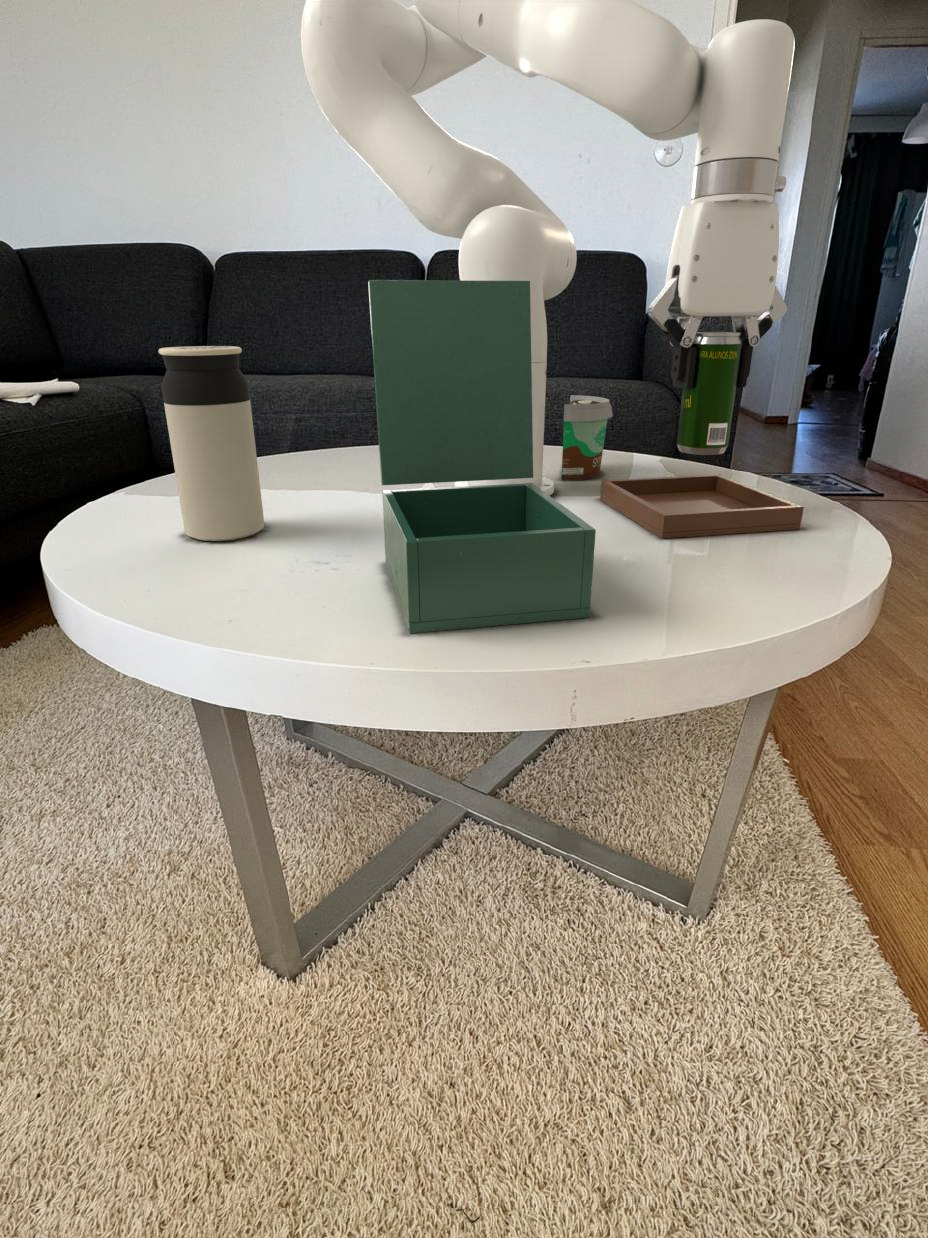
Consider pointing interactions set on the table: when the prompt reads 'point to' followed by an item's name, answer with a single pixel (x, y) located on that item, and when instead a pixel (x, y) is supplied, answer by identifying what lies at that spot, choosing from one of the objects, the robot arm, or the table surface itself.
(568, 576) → the green box
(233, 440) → the travel mug
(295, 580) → the table surface
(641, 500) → the tray
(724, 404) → the beer can
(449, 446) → the lid
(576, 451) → the food container
